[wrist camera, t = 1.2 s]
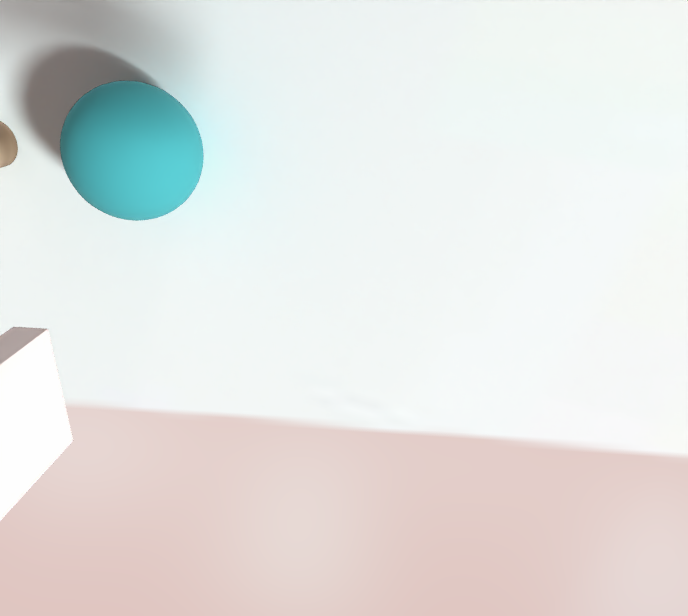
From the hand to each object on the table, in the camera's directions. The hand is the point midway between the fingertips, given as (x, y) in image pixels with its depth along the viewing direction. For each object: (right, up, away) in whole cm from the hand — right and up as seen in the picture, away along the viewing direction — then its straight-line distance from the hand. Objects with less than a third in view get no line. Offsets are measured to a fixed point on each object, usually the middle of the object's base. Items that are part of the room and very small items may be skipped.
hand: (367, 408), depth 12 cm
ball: (-10, +9, +16) cm, 20 cm away
